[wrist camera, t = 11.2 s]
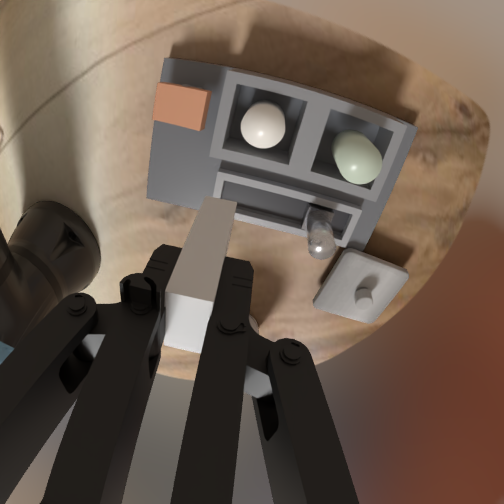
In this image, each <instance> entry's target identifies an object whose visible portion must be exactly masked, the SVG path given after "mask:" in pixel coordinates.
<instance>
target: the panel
mask: <svg viewBox="0 0 504 504" xmlns="http://www.w3.org/2000/svg"><path fill="white" fill-rule="evenodd" d="M160 82H167V83H173V84H179V85H182V84H187V85H191V87H194V88H199V89H204V90H209V91H212V94H211V99H210V104H209V108H208V113H207V118H206V124H205V129H203V130H201V131H197V130H193V129H189V128H186V127H182V126H178V125H174V124H169V123H165V122H161V121H157V120H154V127H153V135H152V144H151V153H150V162H149V173H148V185H147V198H148V199H152V200H157V201H161V202H166V203H170V204H174V205H179V206H183V207H187V208H192V209H196V210H199V209H200V207H201V205H202V203H203V201H204V198H205V196H210V197H215V198H220V199H224V200H229V201H234V202H237V206H236V211H235V216H234V219H235V220H239V221H243V222H247V223H251V224H255V225H259V226H263V227H267V228H271V229H275V230H279V231H283V232H287V233H291V234H295V235H299V236H303V237H307V231H306V230H303V229H301V221H302V218H303V216H304V213H305V210H306V207H307V205H308V202H311V203H314V204H318V205H321V206H325V207H328V208H332V209H333V210H334V213H335V214H334V216H333V219H332V221H331V226H332V231H333V235H334V239H335V244H336V245H337V246H341V247H344V248H345V247H347V248H353V249H356V250H358V251H362V252H363V250H364V248H365V246H366V244H367V242H368V240H369V238H370V236H371V234H372V232H373V230H374V228H375V226H376V224H377V222H378V220H379V218H380V215H381V213H382V211H383V209H384V207H385V205H386V203H387V200H388V198H389V196H390V194H391V192H392V189H393V187H394V185H395V182H396V180H397V178H398V176H399V173H400V171H401V169H402V166H403V164H404V161H405V159H406V157H407V154H408V152H409V149H410V147H411V144H412V142H413V139H414V137H415V134H416V132H417V129H418V127H416V126H414V125H413V124H411V123H408V122H406V121H404V120H402V119H399V118H397V117H395V116H392V115H390V114H387V113H385V112H383V111H380V110H378V109H375V108H372V107H370V106H367V105H365V104H362V103H359V102H356V101H354V100H351V99H348V98H345V97H342V96H339V95H336V94H333V93H330V92H327V91H324V90H321V89H318V88H314V87H311V86H308V85H304V84H301V83H297V82H294V81H290V80H286V79H283V78H279V77H275V76H271V75H266V74H262V73H258V72H253V71H249V70H244V69H239V68H234V67H229V66H224V65H218V64H212V63H206V62H200V61H193V60H186V59H178V58H170V57H169V58H164V63H163V68H162V74H161V80H160ZM261 100H269V101H273V102H275V103H277V104H278V105H279V106H280V107H281V108H282V110H283V112H284V115H285V133H284V136H283V138H282V139H281V141H280V142H279V143H278V144H276V145H275V146H272V147H270V148H257V147H254V146H252V145H251V144H249V143H248V142H247V141H246V140H245V139H244V137H243V135H242V132H241V122H242V119H243V117H244V115H245V114H246V112H247V111H248V109H249V107H250V106H251V105H252V104H254V103H255V102H257V101H261ZM345 130H357V131H359V132H361V133H363V134H364V135H365V136H366V137H367V138H368V139H369V140H370V141H371V143H372V144H373V145H374V146H375V147H376V148H377V149H378V150H379V152H380V154H381V157H382V168H381V171H380V173H379V174H378V176H377V177H376V178H375V179H374V180H372V181H371V182H369V183H366V184H354V183H351V182H349V181H347V180H346V179H345V178H344V177H343V176H342V174H341V173H340V170H339V168H338V166H337V164H336V161H335V159H334V157H333V155H332V150H331V147H332V142H333V140H334V138H335V137H336V136H337V135H338V134H339V133H340V132H342V131H345Z"/></svg>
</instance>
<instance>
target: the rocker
mask: <svg viewBox="0 0 504 504" xmlns="http://www.w3.org/2000/svg"><path fill="white" fill-rule="evenodd" d="M211 94H212V91H209V90H204V89H199V88H194V87H191V85H187V84H182V85H179V84H173V83H167V82H159V83H158V84H157V90H156V96H155V103H154V110H153V117H152V120H157V121H161V122H165V123H169V124H174V125H178V126H182V127H186V128H189V129H193V130H197V131H201V130H203V129H205V124H206V118H207V113H208V108H209V104H210V99H211Z"/></svg>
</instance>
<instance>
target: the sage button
mask: <svg viewBox="0 0 504 504" xmlns="http://www.w3.org/2000/svg"><path fill="white" fill-rule="evenodd" d="M331 150H332V155H333V157H334V159H335V161H336V164H337V166H338V168H339V170H340V173H341V174H342V176H343V177H344V178H345V179H346V180H347V181H349V182H351V183H354V184H366V183H369V182H371V181H372V180H374V179H375V178H376V177H377V176H378V174H379V173H380V171H381V168H382V157H381V154H380V152H379V150H378V149H377V148H376V147H375V146H374V145H373V144H372V143H371V141H370V140H369V139H368V138H367V137H366V136H365V135H364V134H363V133H361V132H359V131H357V130H345V131H342V132H340V133H339V134H338V135H337V136H336V137H335V138H334V140H333V142H332V147H331Z"/></svg>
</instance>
